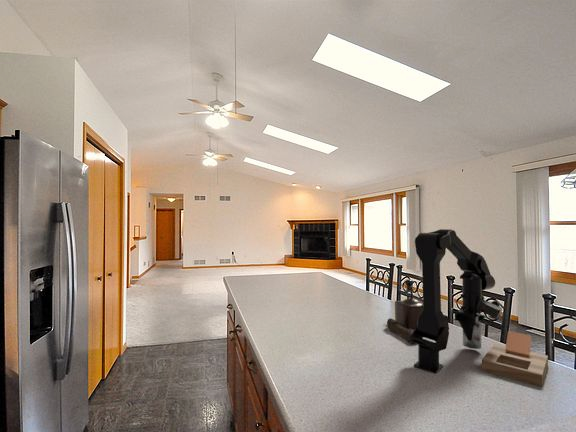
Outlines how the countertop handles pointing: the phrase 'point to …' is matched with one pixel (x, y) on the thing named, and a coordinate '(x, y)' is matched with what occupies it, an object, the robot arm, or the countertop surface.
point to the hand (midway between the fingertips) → (471, 338)
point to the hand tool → (399, 329)
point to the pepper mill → (408, 309)
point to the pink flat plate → (518, 343)
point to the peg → (473, 338)
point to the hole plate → (516, 365)
